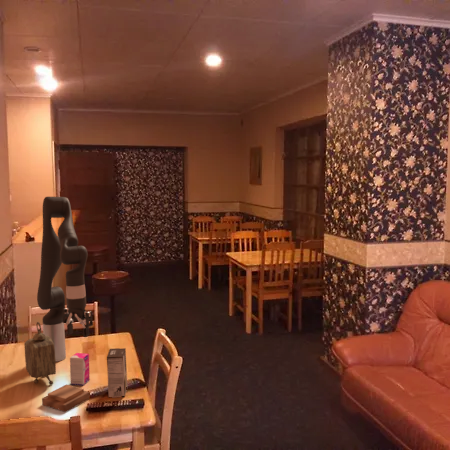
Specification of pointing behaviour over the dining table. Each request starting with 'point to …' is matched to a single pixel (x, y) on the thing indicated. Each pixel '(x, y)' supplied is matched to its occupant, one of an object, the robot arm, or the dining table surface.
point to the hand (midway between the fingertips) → (78, 335)
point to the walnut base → (70, 403)
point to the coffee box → (117, 372)
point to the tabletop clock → (40, 356)
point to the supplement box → (79, 369)
